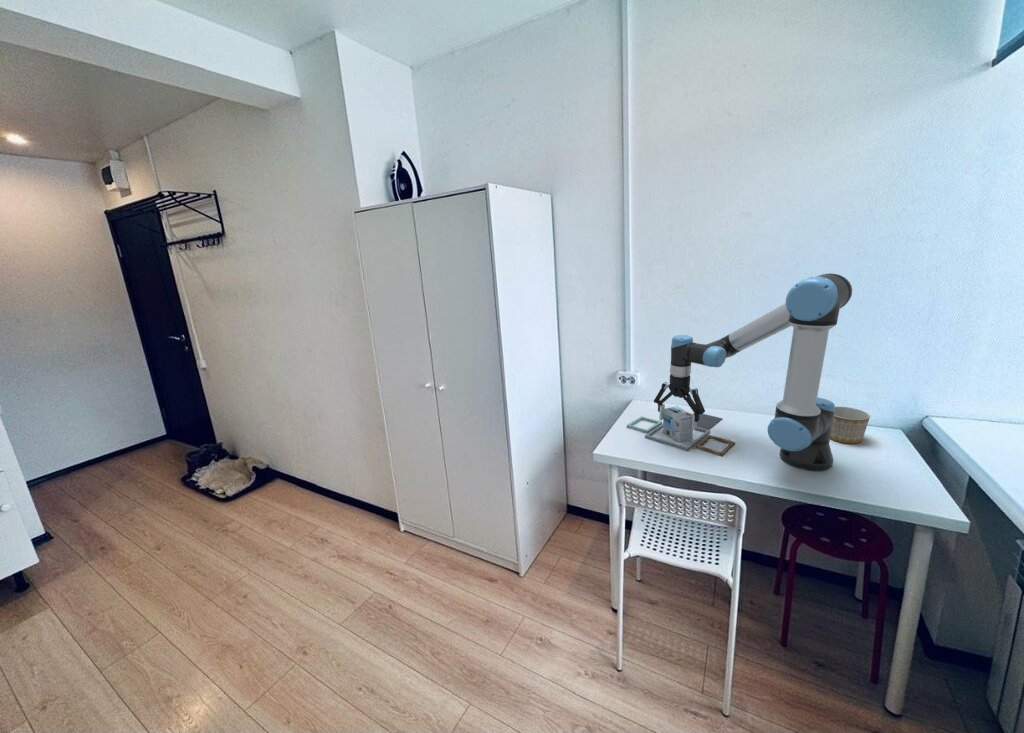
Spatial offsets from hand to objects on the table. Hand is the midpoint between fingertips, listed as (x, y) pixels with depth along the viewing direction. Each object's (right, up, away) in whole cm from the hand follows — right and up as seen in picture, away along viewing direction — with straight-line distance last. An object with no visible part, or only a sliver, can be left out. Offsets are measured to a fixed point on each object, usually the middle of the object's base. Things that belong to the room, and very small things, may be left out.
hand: (677, 423), depth 166 cm
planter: (+59, -4, -11) cm, 60 cm away
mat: (+16, -1, +12) cm, 20 cm away
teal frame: (-10, -3, +12) cm, 16 cm away
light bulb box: (+1, -5, +1) cm, 5 cm away
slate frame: (+1, -5, +1) cm, 5 cm away
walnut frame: (+11, -7, -10) cm, 16 cm away
